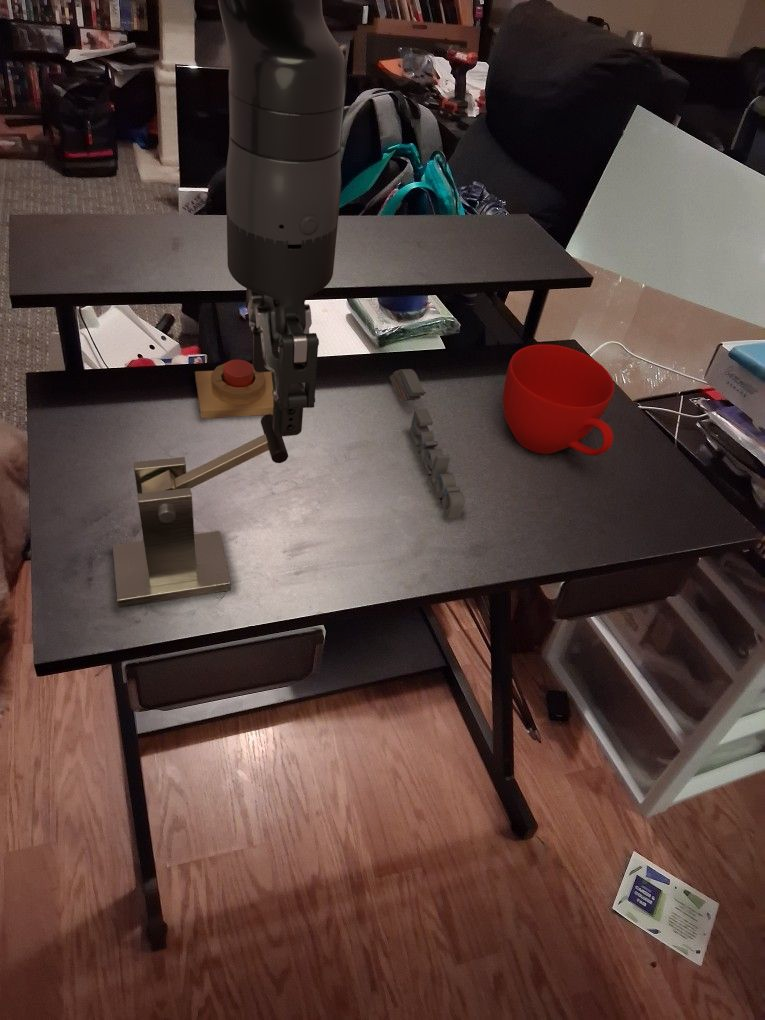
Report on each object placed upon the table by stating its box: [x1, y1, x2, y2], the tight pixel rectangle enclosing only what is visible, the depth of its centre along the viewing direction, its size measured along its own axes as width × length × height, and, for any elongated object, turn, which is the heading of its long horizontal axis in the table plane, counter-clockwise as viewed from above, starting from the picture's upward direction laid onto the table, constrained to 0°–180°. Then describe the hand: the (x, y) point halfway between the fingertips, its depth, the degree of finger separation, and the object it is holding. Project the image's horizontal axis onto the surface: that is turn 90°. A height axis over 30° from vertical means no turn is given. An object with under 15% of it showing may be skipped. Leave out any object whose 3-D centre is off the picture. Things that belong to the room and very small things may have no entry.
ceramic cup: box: [502, 343, 615, 456], centre depth 91 cm, size 13×17×10 cm
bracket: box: [112, 456, 232, 609], centre depth 68 cm, size 10×7×13 cm, turn 108°
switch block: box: [194, 363, 274, 419], centre depth 92 cm, size 10×8×3 cm
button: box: [223, 359, 253, 387], centre depth 91 cm, size 4×4×2 cm
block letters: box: [388, 368, 465, 520], centre depth 89 cm, size 25×2×6 cm, turn 16°
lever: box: [141, 414, 289, 493], centre depth 64 cm, size 13×5×2 cm, turn 108°
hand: (275, 400), depth 61 cm, fingers open, 8 cm apart
